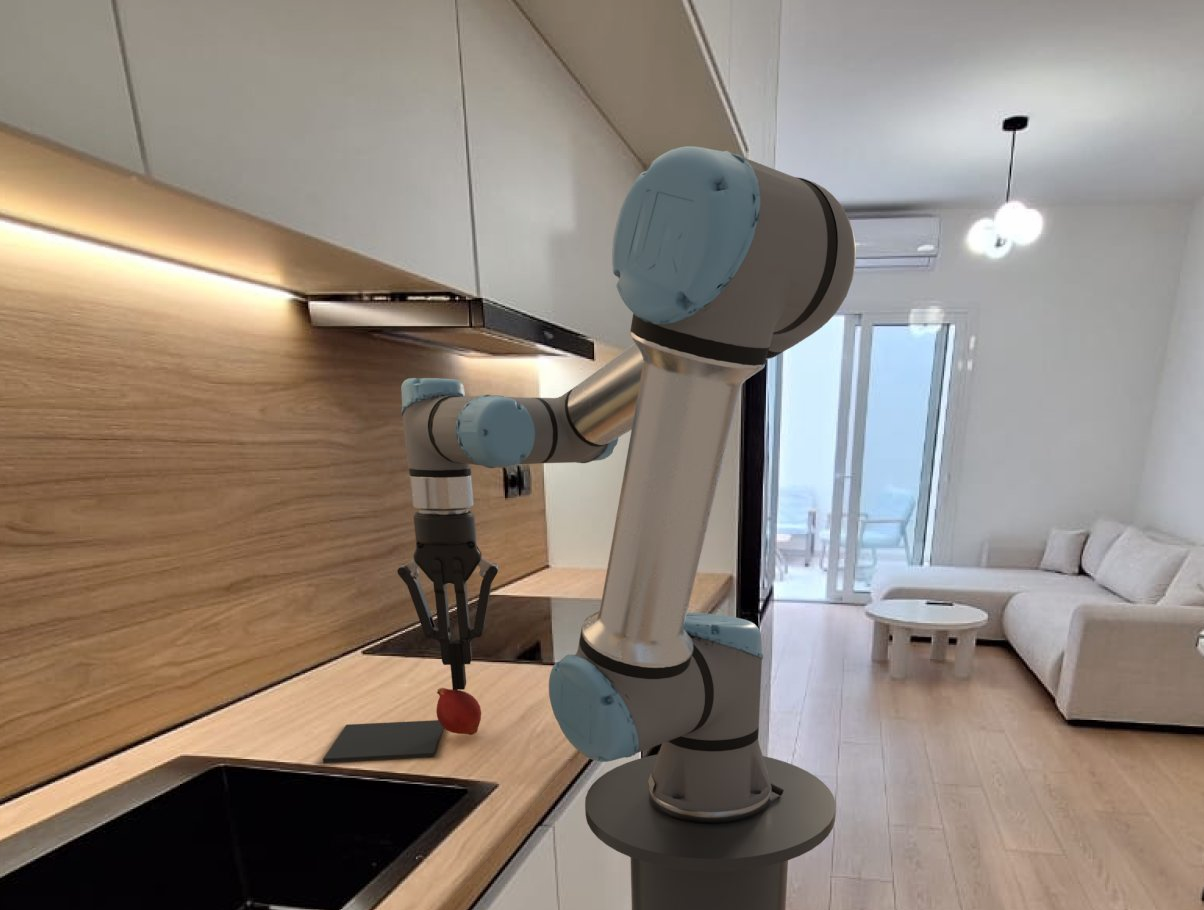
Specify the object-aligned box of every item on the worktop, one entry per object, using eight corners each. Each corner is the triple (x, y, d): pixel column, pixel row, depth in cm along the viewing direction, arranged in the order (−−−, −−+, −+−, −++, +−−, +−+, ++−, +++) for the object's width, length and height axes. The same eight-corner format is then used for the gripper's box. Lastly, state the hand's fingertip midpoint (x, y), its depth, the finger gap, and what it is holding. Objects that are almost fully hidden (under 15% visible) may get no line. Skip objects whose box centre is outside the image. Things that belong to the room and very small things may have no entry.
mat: (445, 723, 119) (445, 719, 119) (434, 756, 107) (433, 752, 107) (346, 728, 117) (346, 724, 117) (323, 762, 105) (322, 758, 105)
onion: (467, 732, 117) (433, 687, 115) (497, 715, 115) (463, 670, 113) (451, 751, 112) (415, 705, 110) (483, 734, 110) (447, 687, 108)
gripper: (498, 507, 107) (509, 677, 116) (395, 507, 105) (415, 679, 114) (494, 513, 100) (506, 693, 109) (384, 514, 99) (405, 697, 107)
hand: (459, 686), depth 112 cm, fingers closed
